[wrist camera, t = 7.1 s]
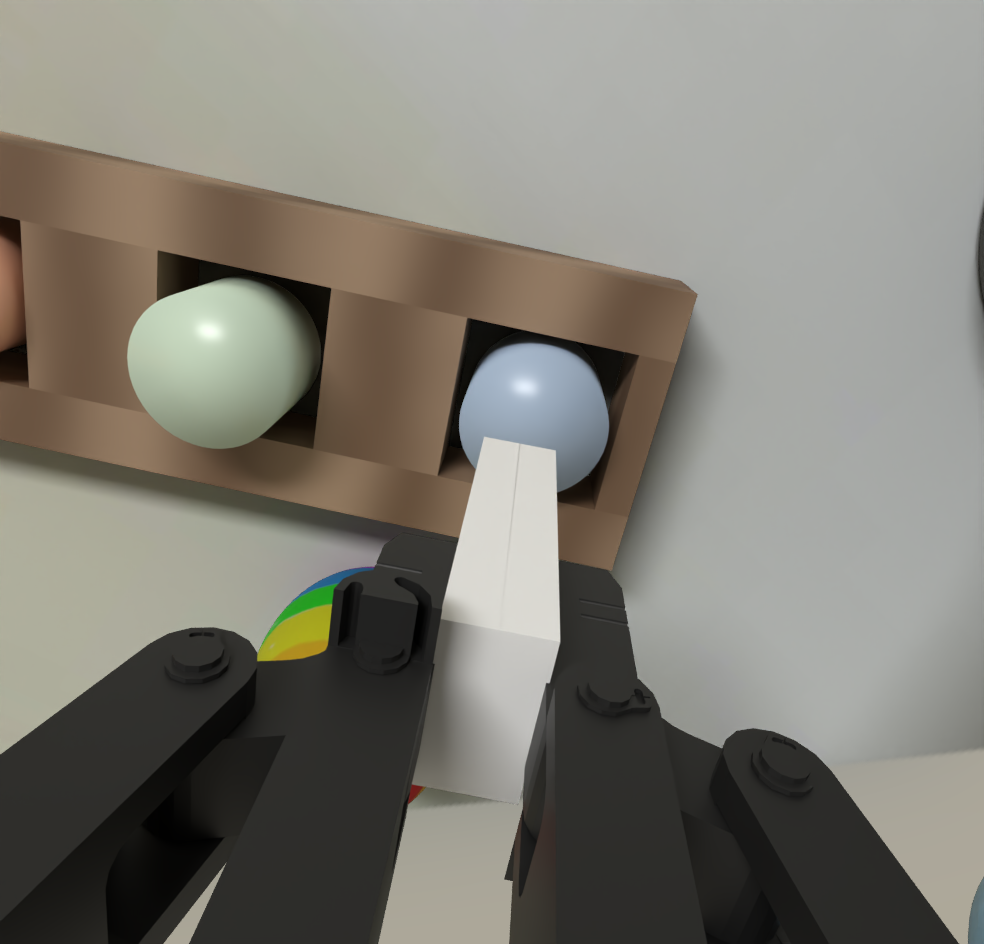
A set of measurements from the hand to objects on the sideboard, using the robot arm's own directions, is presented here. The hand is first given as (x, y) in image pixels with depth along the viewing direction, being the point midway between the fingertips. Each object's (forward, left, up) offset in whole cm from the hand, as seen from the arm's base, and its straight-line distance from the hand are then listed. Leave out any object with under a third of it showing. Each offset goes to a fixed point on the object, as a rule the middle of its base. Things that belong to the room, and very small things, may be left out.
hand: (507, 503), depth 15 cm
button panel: (+9, +1, -12) cm, 15 cm away
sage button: (+9, +1, -10) cm, 14 cm away
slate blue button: (-1, +1, -12) cm, 12 cm away
